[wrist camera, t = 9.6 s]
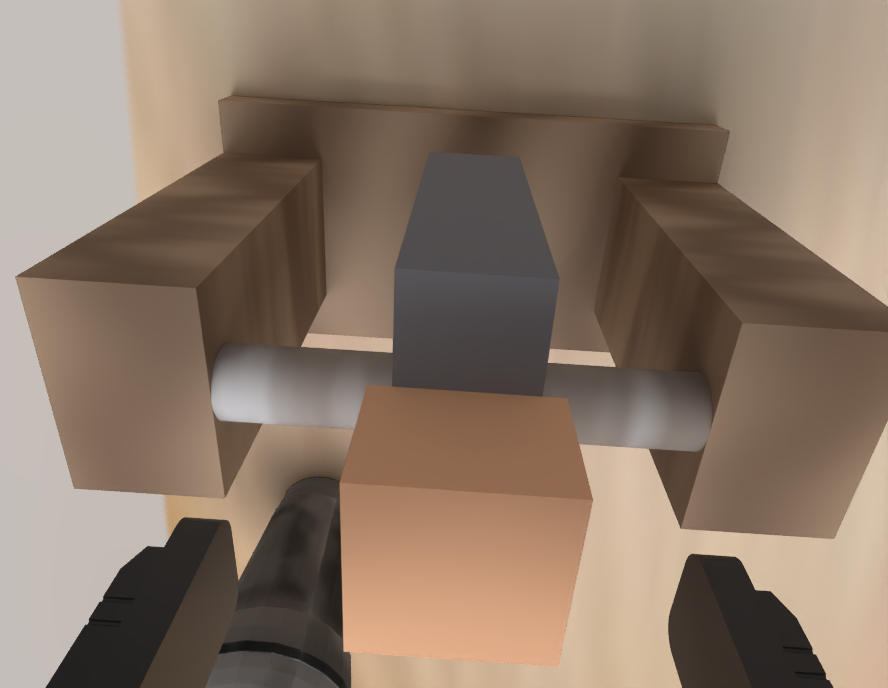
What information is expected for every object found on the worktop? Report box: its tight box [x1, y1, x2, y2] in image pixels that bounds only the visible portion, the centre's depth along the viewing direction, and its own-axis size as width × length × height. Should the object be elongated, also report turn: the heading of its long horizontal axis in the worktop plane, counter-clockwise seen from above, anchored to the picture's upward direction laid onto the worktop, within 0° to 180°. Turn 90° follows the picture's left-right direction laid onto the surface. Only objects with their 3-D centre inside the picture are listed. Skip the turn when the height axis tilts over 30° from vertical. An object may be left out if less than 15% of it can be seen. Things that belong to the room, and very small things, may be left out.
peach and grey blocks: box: [340, 152, 593, 667], centre depth 17 cm, size 4×9×14 cm, turn 177°
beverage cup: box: [205, 477, 351, 688], centre depth 28 cm, size 7×7×20 cm
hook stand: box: [16, 96, 888, 539], centre depth 22 cm, size 20×10×15 cm, turn 87°
